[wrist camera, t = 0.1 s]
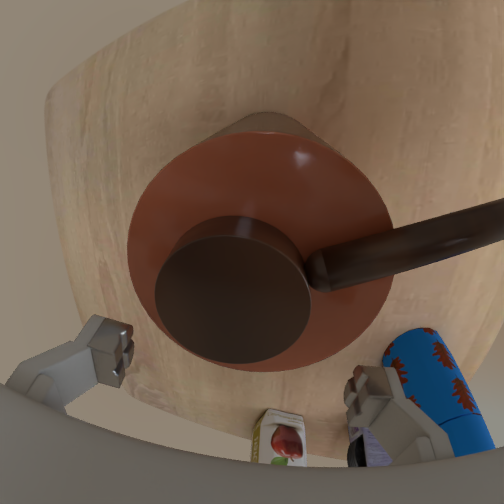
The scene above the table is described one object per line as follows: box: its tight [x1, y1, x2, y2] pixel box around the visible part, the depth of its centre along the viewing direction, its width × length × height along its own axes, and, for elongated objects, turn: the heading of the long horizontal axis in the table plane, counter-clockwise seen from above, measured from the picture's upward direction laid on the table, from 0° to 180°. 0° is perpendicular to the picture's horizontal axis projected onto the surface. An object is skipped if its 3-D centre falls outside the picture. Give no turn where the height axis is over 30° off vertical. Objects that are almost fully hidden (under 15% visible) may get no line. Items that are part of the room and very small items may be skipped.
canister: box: [127, 112, 394, 372], centre depth 23 cm, size 11×11×24 cm
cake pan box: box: [347, 427, 393, 467], centre depth 46 cm, size 19×5×18 cm, turn 70°
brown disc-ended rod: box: [154, 198, 504, 364], centre depth 11 cm, size 21×6×2 cm, turn 108°
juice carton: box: [250, 409, 307, 467], centre depth 46 cm, size 8×9×19 cm
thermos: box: [382, 328, 496, 457], centre depth 34 cm, size 11×11×25 cm
